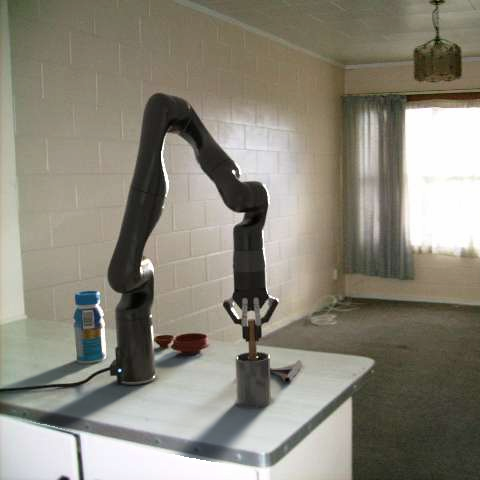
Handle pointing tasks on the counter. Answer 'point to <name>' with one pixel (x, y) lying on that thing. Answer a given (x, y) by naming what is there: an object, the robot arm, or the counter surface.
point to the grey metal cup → (253, 381)
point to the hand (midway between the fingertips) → (252, 340)
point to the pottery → (184, 342)
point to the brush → (252, 341)
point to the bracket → (287, 371)
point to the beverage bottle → (89, 328)
